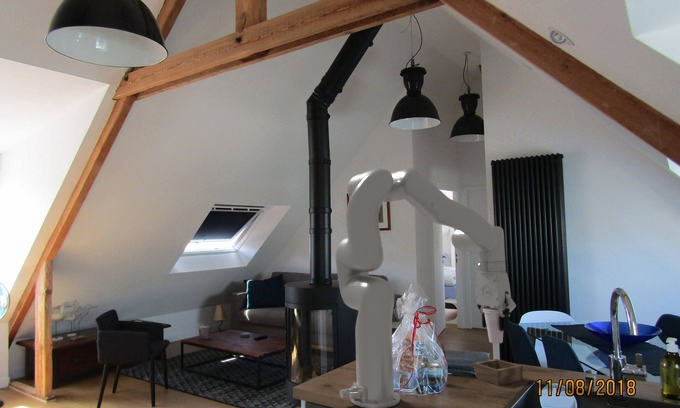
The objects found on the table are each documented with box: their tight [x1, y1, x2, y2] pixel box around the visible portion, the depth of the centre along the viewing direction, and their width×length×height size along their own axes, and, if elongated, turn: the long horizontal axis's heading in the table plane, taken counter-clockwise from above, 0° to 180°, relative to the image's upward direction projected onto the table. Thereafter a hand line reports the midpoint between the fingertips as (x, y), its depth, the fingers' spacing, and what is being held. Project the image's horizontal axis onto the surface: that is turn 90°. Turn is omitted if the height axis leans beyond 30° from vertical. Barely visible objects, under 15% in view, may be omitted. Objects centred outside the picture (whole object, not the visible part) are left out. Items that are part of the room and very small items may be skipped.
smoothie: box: [483, 307, 504, 344], centre depth 140 cm, size 6×6×14 cm
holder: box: [471, 358, 524, 386], centre depth 138 cm, size 10×10×4 cm
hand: (495, 328), depth 139 cm, fingers closed on smoothie, 6 cm apart
